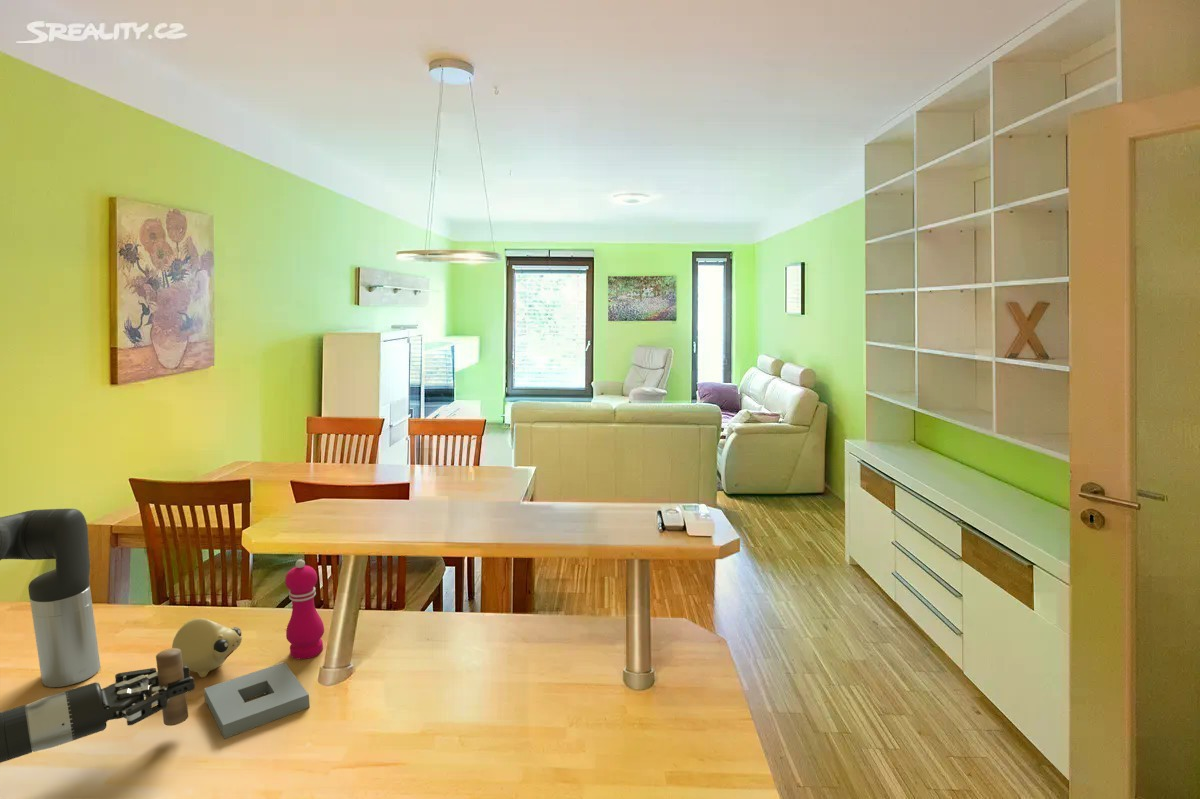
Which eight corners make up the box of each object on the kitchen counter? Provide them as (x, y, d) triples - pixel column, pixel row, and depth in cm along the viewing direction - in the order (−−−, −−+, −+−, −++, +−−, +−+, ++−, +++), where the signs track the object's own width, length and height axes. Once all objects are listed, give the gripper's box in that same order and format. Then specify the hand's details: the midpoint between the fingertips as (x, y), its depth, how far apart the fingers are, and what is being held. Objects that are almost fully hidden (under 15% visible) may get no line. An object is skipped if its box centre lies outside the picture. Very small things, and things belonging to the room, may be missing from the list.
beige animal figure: (223, 685, 137) (218, 633, 136) (163, 682, 139) (158, 630, 137) (252, 658, 147) (248, 609, 145) (197, 655, 148) (192, 606, 146)
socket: (205, 700, 133) (204, 688, 132) (285, 674, 141) (284, 662, 141) (224, 738, 122) (223, 725, 122) (309, 707, 131) (308, 694, 130)
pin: (161, 717, 123) (154, 653, 121) (185, 709, 125) (178, 645, 123) (165, 728, 120) (158, 662, 118) (190, 719, 122) (183, 654, 120)
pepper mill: (297, 642, 153) (290, 552, 150) (331, 642, 153) (324, 553, 150) (281, 660, 146) (273, 566, 143) (316, 661, 146) (310, 567, 142)
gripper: (67, 717, 106) (198, 675, 117) (59, 674, 117) (180, 639, 128) (73, 762, 108) (203, 717, 119) (65, 716, 118) (185, 678, 129)
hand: (190, 677), depth 123 cm, fingers closed on pin, 3 cm apart
